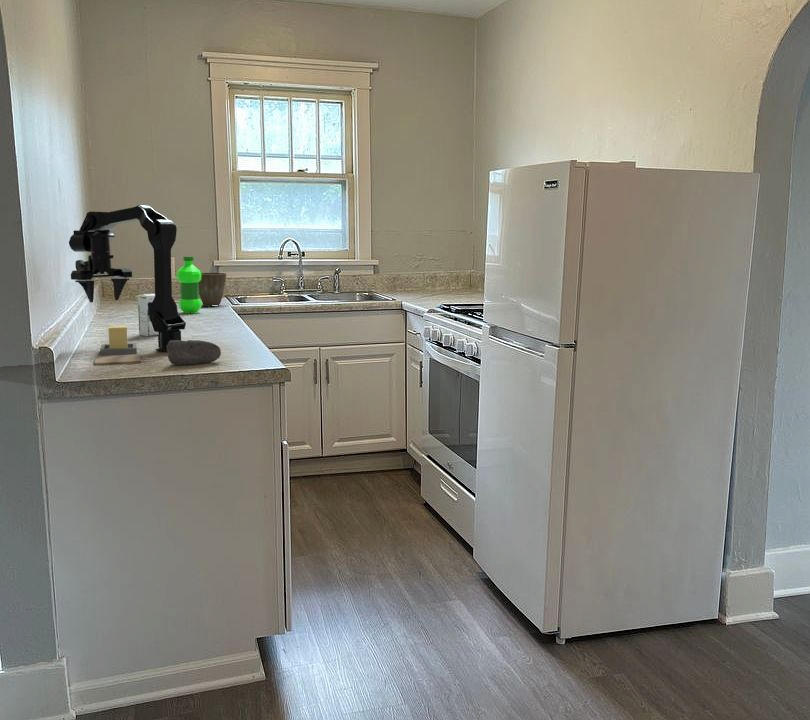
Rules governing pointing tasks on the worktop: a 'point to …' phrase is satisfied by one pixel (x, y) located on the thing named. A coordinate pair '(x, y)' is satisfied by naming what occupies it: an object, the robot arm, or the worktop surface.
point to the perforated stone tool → (192, 352)
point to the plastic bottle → (189, 286)
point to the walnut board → (117, 359)
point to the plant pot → (211, 288)
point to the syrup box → (145, 315)
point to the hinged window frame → (118, 350)
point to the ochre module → (118, 337)
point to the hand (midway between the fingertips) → (104, 301)
